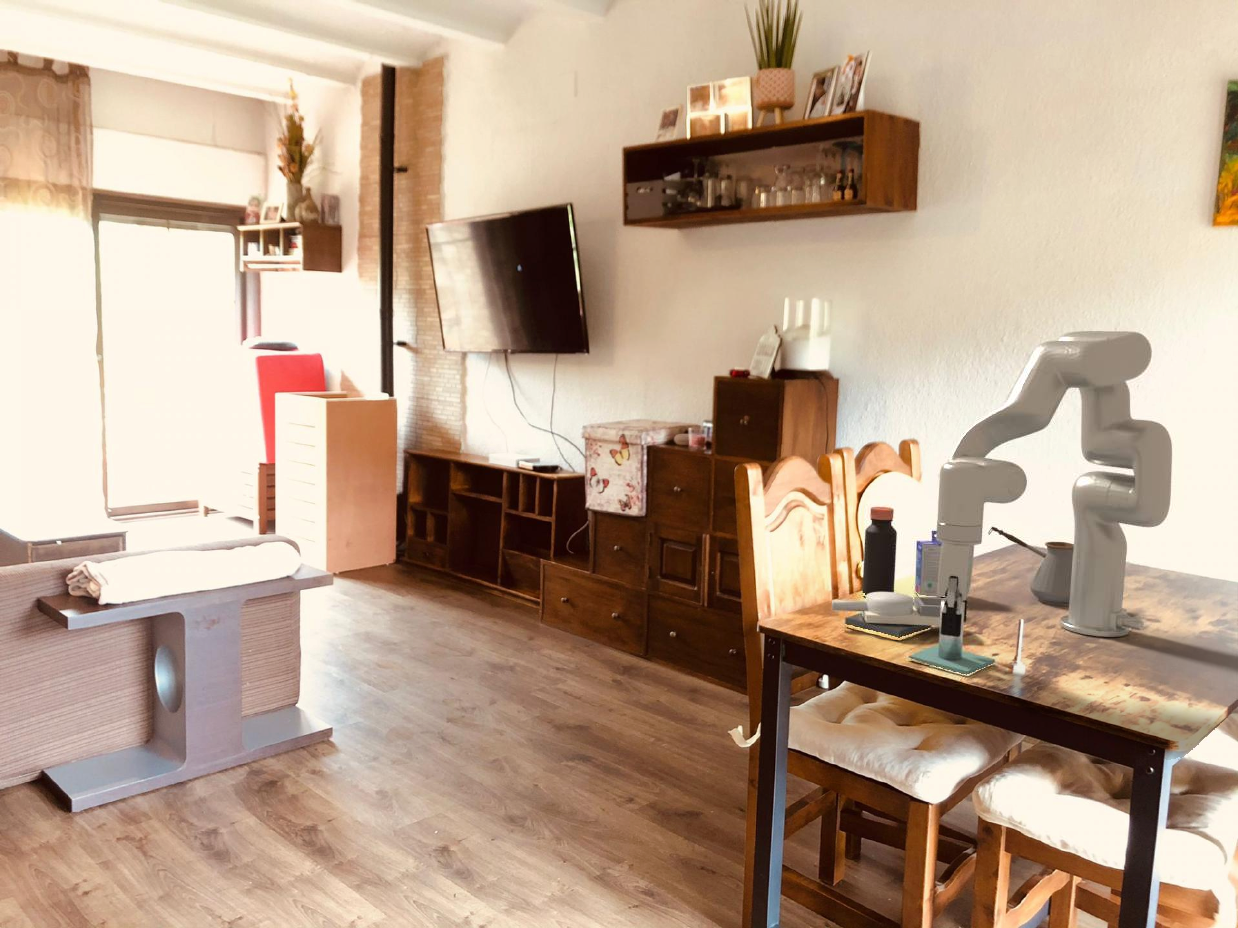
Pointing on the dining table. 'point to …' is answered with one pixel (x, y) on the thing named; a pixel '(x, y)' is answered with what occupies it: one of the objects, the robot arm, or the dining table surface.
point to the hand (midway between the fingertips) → (953, 628)
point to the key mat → (962, 666)
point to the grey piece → (951, 640)
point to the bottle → (879, 552)
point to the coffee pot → (1050, 571)
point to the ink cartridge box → (927, 566)
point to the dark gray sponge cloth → (885, 626)
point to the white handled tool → (894, 608)
